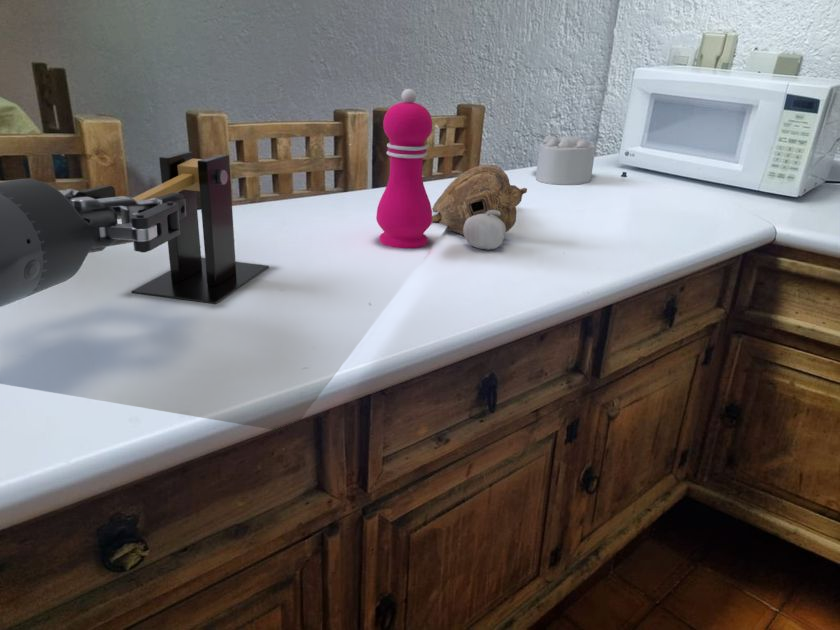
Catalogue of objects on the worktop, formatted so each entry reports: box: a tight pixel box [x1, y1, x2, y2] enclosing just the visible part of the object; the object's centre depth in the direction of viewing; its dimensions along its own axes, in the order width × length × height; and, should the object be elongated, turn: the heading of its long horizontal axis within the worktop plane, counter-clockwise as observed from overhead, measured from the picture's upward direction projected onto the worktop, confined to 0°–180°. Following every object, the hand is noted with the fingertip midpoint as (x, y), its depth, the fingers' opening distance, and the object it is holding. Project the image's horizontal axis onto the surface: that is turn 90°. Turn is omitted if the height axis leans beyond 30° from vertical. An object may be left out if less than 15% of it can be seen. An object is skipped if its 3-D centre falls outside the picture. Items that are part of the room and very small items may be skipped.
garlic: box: [463, 210, 507, 251], centre depth 88 cm, size 6×5×5 cm
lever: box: [94, 157, 204, 219], centre depth 60 cm, size 13×6×2 cm, turn 167°
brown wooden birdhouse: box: [431, 164, 528, 236], centre depth 101 cm, size 10×24×15 cm
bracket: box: [130, 150, 270, 305], centre depth 67 cm, size 12×9×14 cm
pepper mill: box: [376, 88, 433, 249], centre depth 82 cm, size 7×7×20 cm
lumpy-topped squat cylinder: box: [535, 135, 596, 186], centre depth 138 cm, size 10×13×9 cm
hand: (145, 201), depth 57 cm, fingers closed on lever, 6 cm apart
